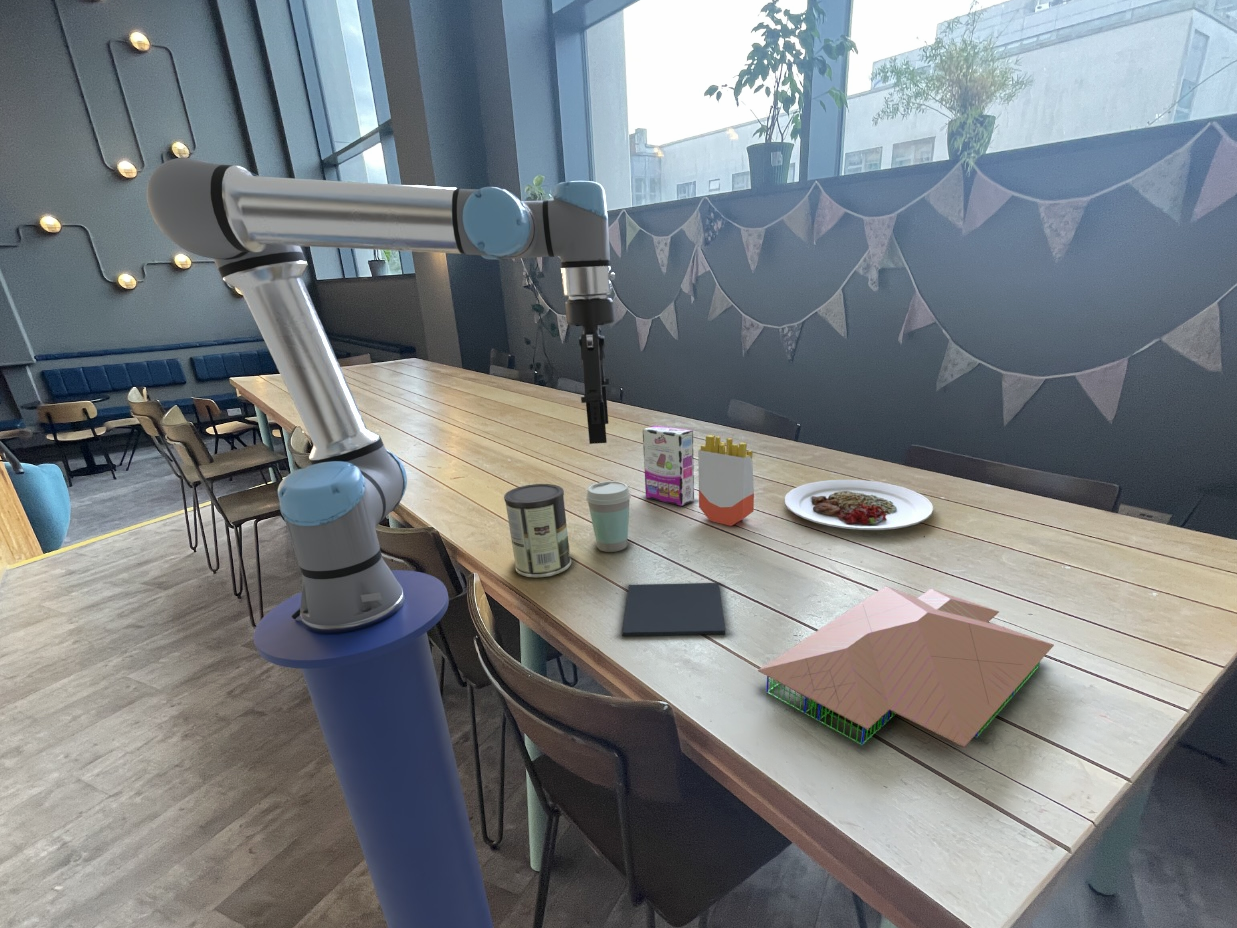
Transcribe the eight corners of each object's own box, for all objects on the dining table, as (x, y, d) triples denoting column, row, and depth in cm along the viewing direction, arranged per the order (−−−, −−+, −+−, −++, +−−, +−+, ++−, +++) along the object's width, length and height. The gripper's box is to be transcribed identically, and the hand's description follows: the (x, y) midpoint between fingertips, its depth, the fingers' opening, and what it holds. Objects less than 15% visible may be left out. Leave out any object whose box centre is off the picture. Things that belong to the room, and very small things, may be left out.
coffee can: (549, 549, 119) (541, 479, 113) (582, 564, 112) (575, 491, 106) (503, 566, 112) (492, 494, 107) (535, 583, 106) (525, 507, 100)
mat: (622, 636, 89) (621, 632, 89) (629, 587, 103) (629, 584, 103) (725, 634, 89) (725, 630, 88) (718, 585, 102) (718, 582, 102)
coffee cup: (627, 534, 124) (623, 477, 119) (639, 550, 116) (636, 491, 111) (586, 541, 122) (580, 483, 117) (595, 558, 114) (590, 497, 109)
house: (1055, 657, 80) (1070, 603, 77) (939, 794, 60) (952, 729, 57) (891, 598, 96) (898, 551, 92) (757, 691, 76) (759, 636, 73)
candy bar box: (695, 500, 140) (694, 430, 134) (682, 507, 137) (680, 434, 130) (658, 491, 147) (655, 424, 141) (644, 497, 144) (641, 428, 137)
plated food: (867, 480, 149) (869, 466, 147) (965, 521, 123) (968, 505, 122) (759, 499, 140) (759, 485, 138) (839, 548, 114) (841, 531, 112)
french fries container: (711, 511, 134) (710, 430, 126) (754, 521, 127) (756, 436, 120) (698, 518, 131) (697, 434, 123) (742, 528, 124) (744, 441, 117)
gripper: (611, 299, 84) (621, 450, 92) (613, 294, 106) (621, 416, 115) (556, 302, 83) (571, 453, 92) (570, 296, 106) (581, 418, 115)
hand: (599, 433), depth 104 cm, fingers open, 13 cm apart
